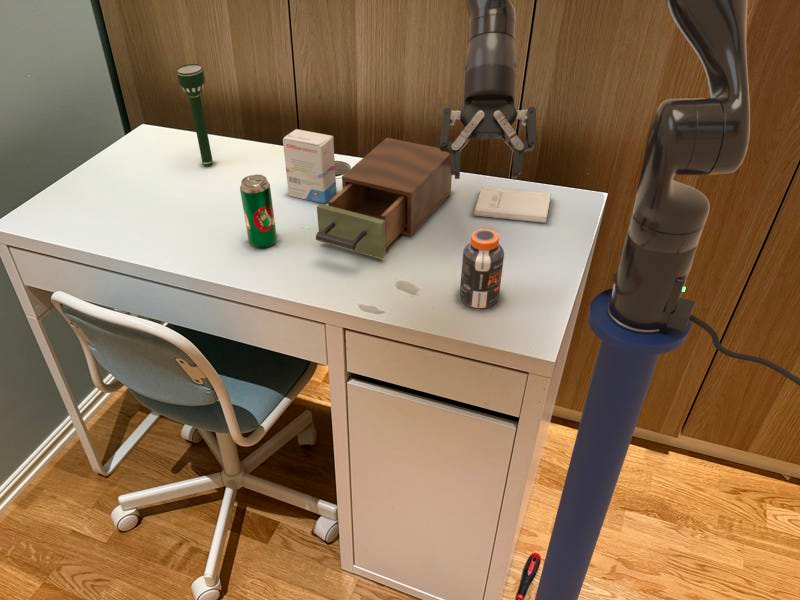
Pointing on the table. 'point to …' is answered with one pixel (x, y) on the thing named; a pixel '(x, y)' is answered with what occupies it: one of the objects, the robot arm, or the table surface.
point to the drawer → (362, 219)
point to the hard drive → (513, 205)
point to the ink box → (310, 165)
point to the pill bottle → (481, 269)
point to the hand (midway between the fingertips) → (485, 177)
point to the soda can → (258, 211)
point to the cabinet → (406, 176)
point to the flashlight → (196, 105)
